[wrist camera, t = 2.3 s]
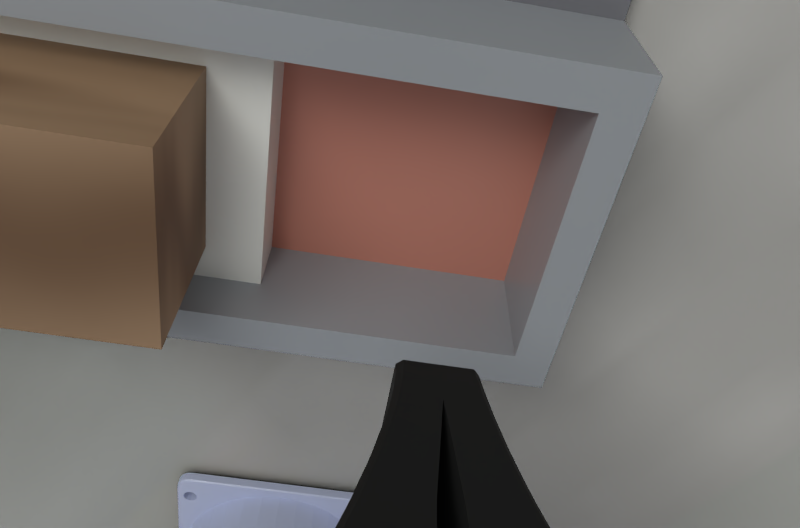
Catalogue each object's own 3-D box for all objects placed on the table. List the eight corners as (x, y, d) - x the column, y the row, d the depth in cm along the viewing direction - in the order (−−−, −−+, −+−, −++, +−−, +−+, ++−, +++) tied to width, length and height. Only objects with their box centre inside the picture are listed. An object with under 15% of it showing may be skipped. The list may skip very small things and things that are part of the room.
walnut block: (205, 246, 19) (161, 349, 16) (-28, 212, 19) (-121, 311, 16) (206, 66, 16) (152, 148, 13) (-70, 21, 16) (-195, 94, 13)
